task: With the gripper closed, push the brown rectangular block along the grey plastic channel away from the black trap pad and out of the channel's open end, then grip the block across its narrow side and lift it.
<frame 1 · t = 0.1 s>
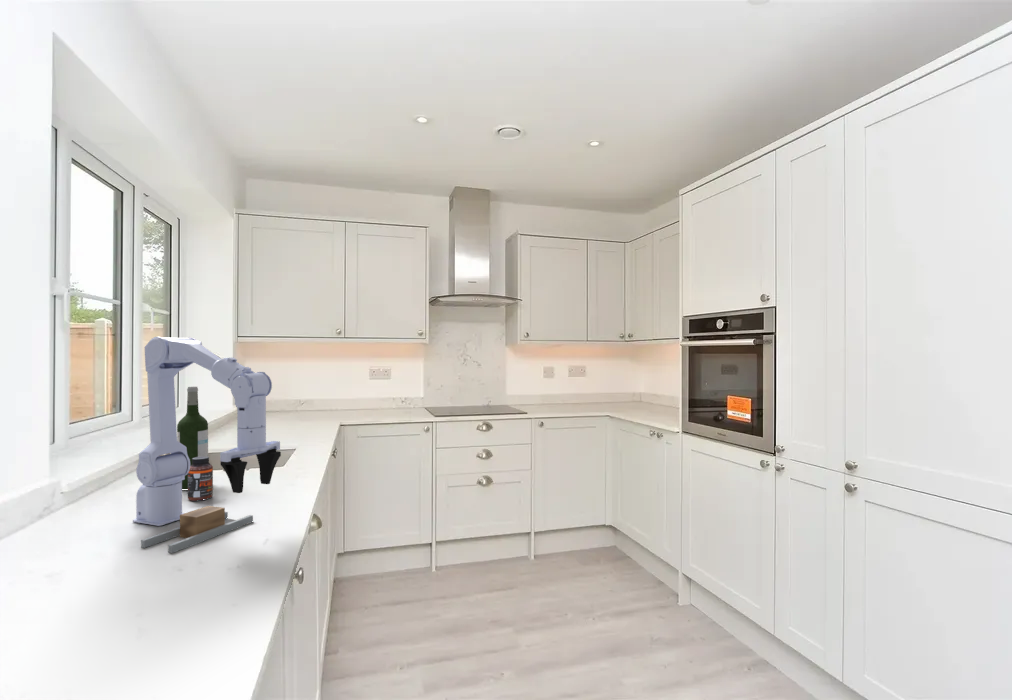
hand: (251, 487, 114), 10 cm above the countertop, tool pointing down, fingers open, 7 cm apart
wine bottle: (193, 487, 153), on the countertop
brown rectangular block: (202, 533, 114), on the countertop
channel: (200, 533, 114), on the countertop
supplement bottle: (200, 499, 141), on the countertop
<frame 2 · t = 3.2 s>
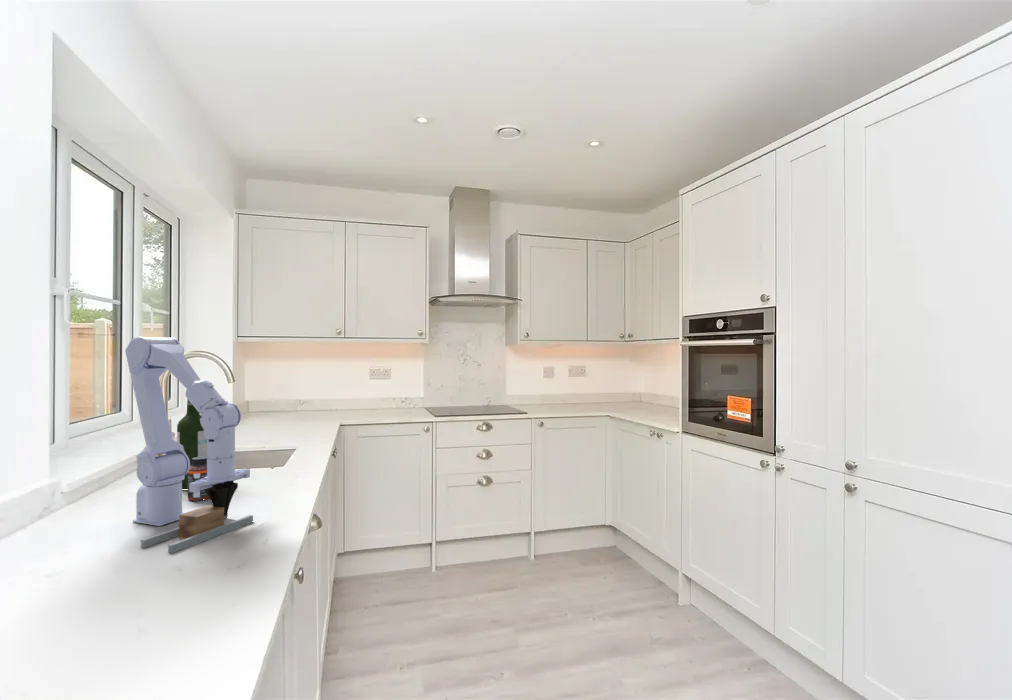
hand: (221, 515, 119), 2 cm above the countertop, tool pointing down, fingers closed
brown rectangular block: (202, 533, 114), on the countertop, touching gripper
everything else where it was.
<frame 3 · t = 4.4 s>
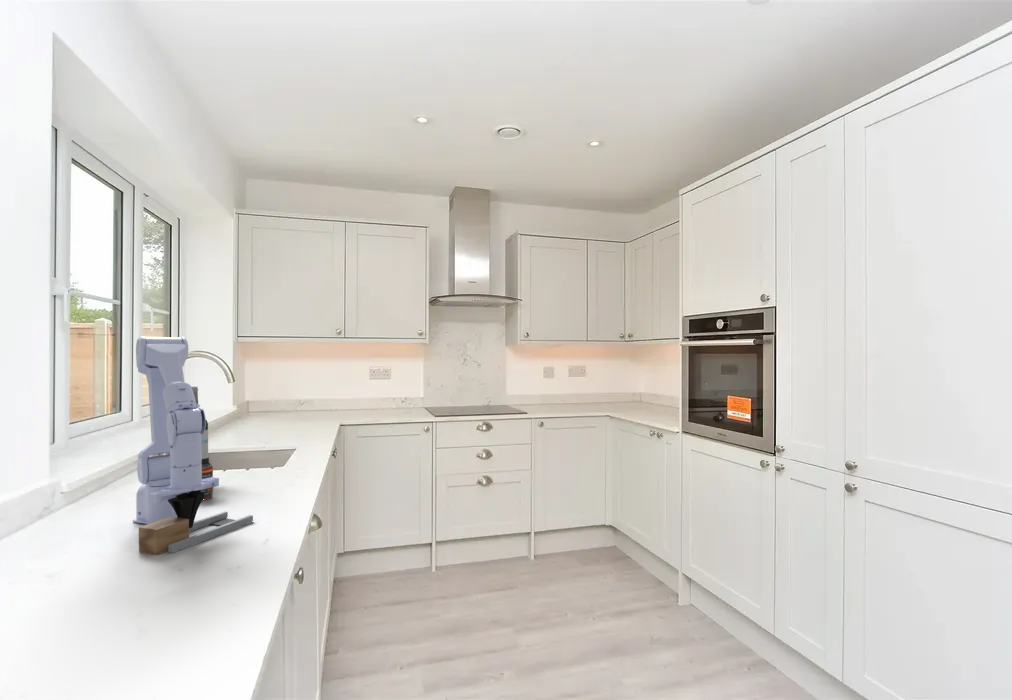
hand: (186, 527, 110), 2 cm above the countertop, tool pointing down, fingers closed
brown rectangular block: (164, 547, 106), on the countertop, touching gripper
everything else where it was.
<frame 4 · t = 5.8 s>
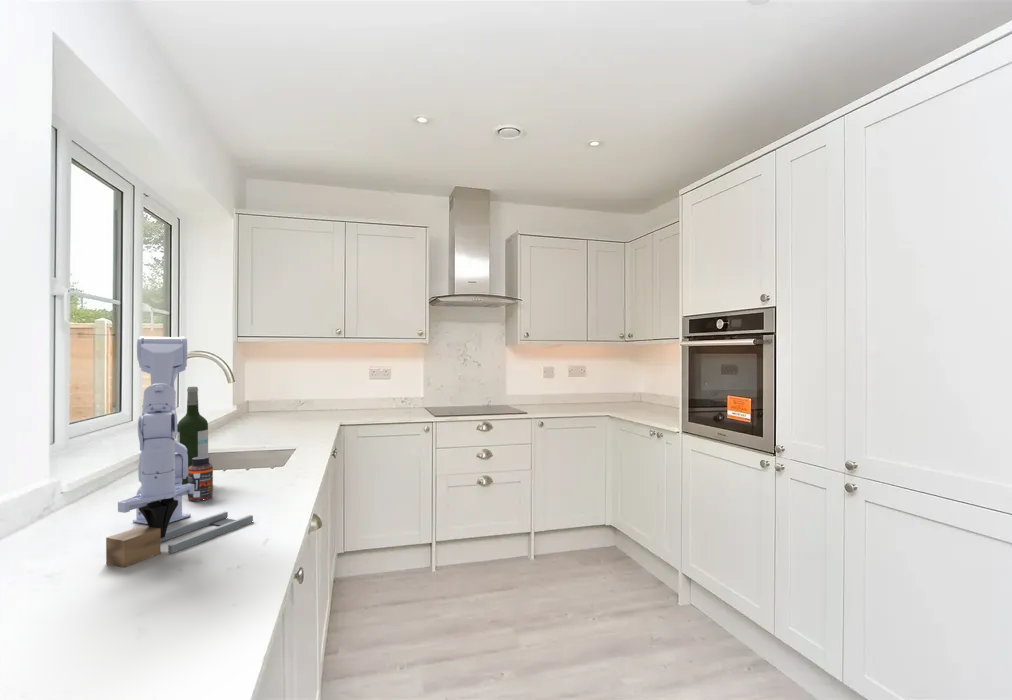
hand: (158, 537, 105), 2 cm above the countertop, tool pointing down, fingers closed
brown rectangular block: (134, 558, 100), on the countertop, touching gripper
everything else where it was.
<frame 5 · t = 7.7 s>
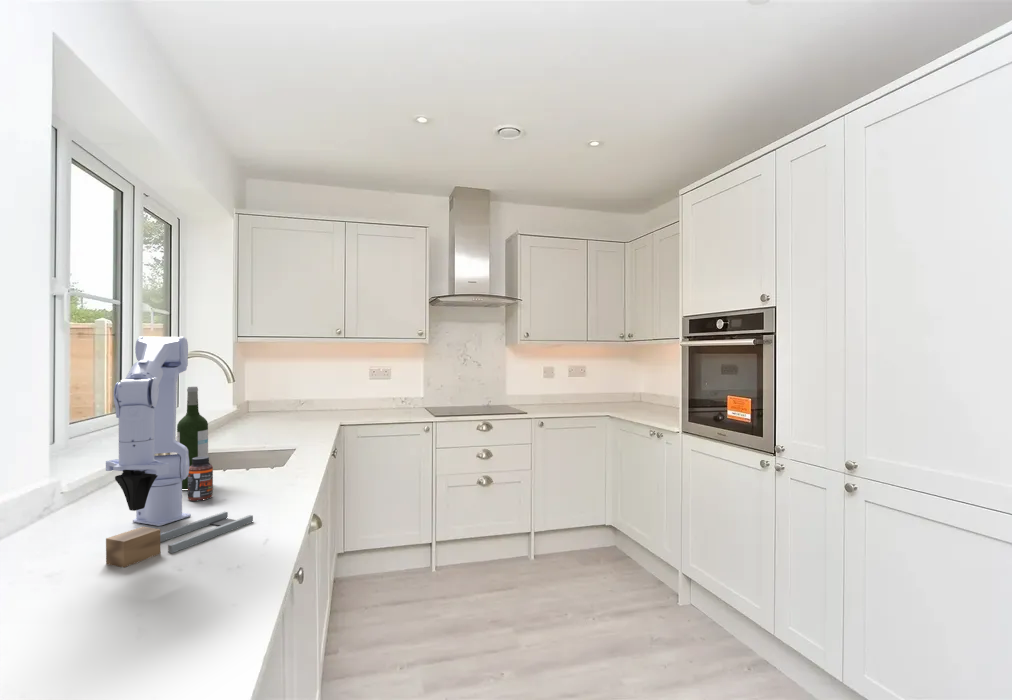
hand: (137, 509, 101), 9 cm above the countertop, tool pointing down, fingers closed
brown rectangular block: (134, 559, 100), on the countertop
everything else where it was.
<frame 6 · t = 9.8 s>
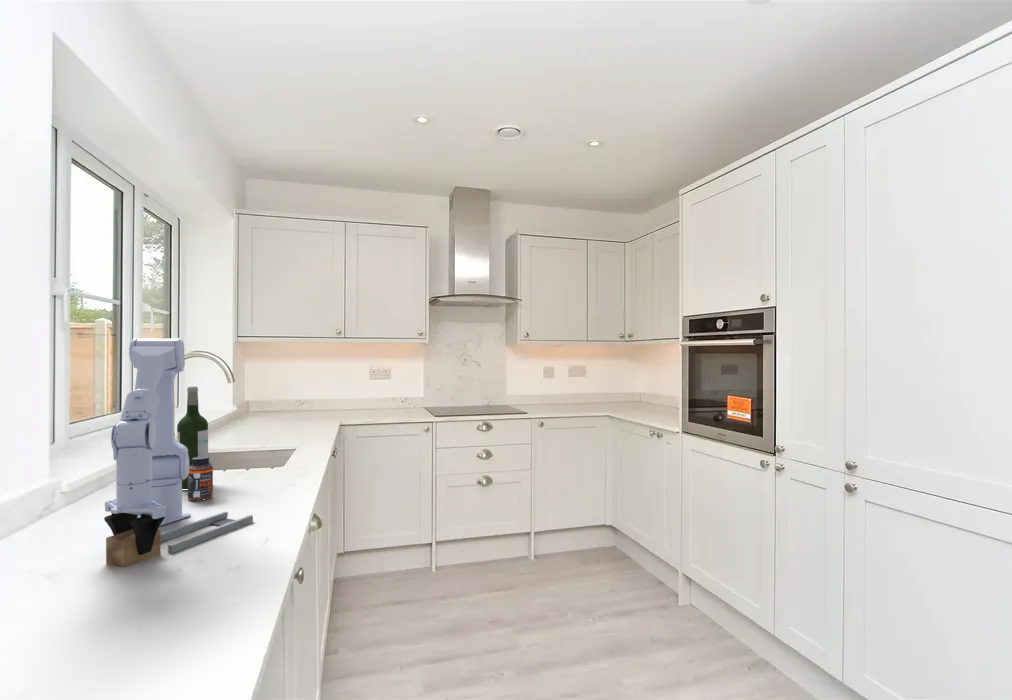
hand: (134, 550, 100), 1 cm above the countertop, tool pointing down, fingers closed on brown rectangular block, 5 cm apart
brown rectangular block: (134, 558, 100), on the countertop, touching gripper
everything else where it was.
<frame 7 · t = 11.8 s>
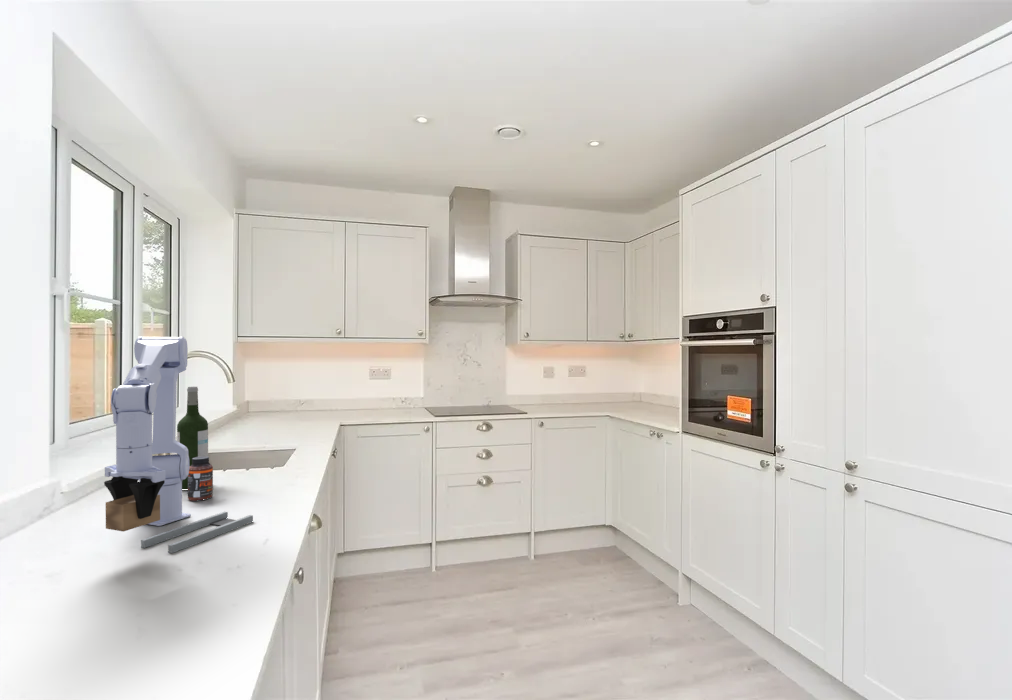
hand: (134, 515, 100), 8 cm above the countertop, tool pointing down, fingers closed on brown rectangular block, 5 cm apart
brown rectangular block: (133, 524, 100), point 7 cm above the countertop, touching gripper
everything else where it was.
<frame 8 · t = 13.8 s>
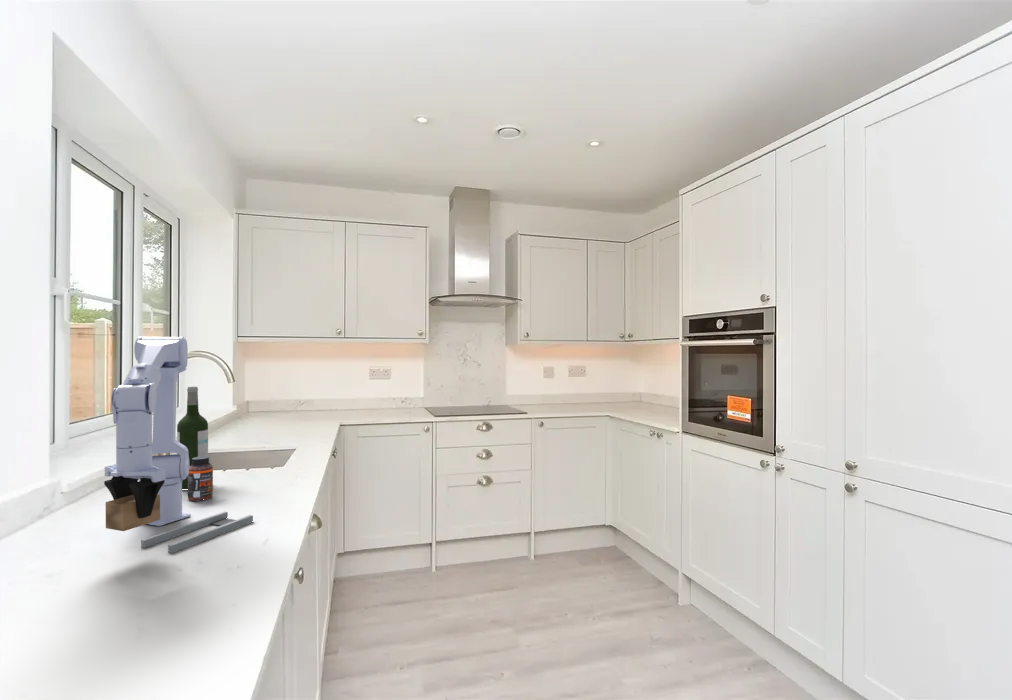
hand: (134, 515, 100), 8 cm above the countertop, tool pointing down, fingers closed on brown rectangular block, 5 cm apart
brown rectangular block: (133, 523, 100), point 7 cm above the countertop, touching gripper
everything else where it was.
at the end: brown rectangular block inside the target area (2.1 cm from its centre), point 6.8 cm above the countertop; the gripper is holding brown rectangular block; brown rectangular block touching gripper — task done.
